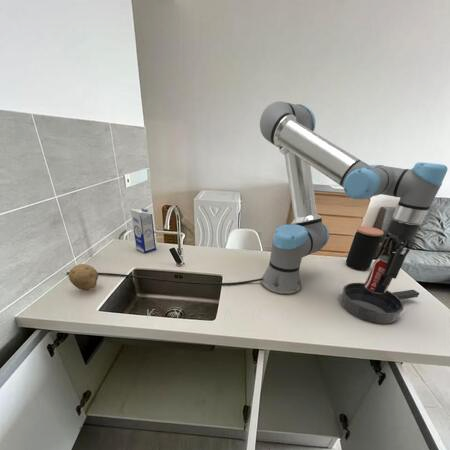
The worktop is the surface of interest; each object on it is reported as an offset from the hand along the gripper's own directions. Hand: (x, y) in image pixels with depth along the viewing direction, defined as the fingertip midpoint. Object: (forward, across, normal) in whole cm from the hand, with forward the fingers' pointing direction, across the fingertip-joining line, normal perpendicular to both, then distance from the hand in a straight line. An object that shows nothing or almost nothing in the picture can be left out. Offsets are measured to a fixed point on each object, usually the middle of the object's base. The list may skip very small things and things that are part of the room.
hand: (375, 286), depth 84 cm
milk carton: (+10, +18, +98) cm, 100 cm away
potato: (+10, -21, +100) cm, 103 cm away
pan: (+9, 0, 0) cm, 9 cm away
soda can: (+2, 0, 0) cm, 2 cm away
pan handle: (+6, +7, -13) cm, 16 cm away
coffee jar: (+9, +35, -4) cm, 36 cm away
